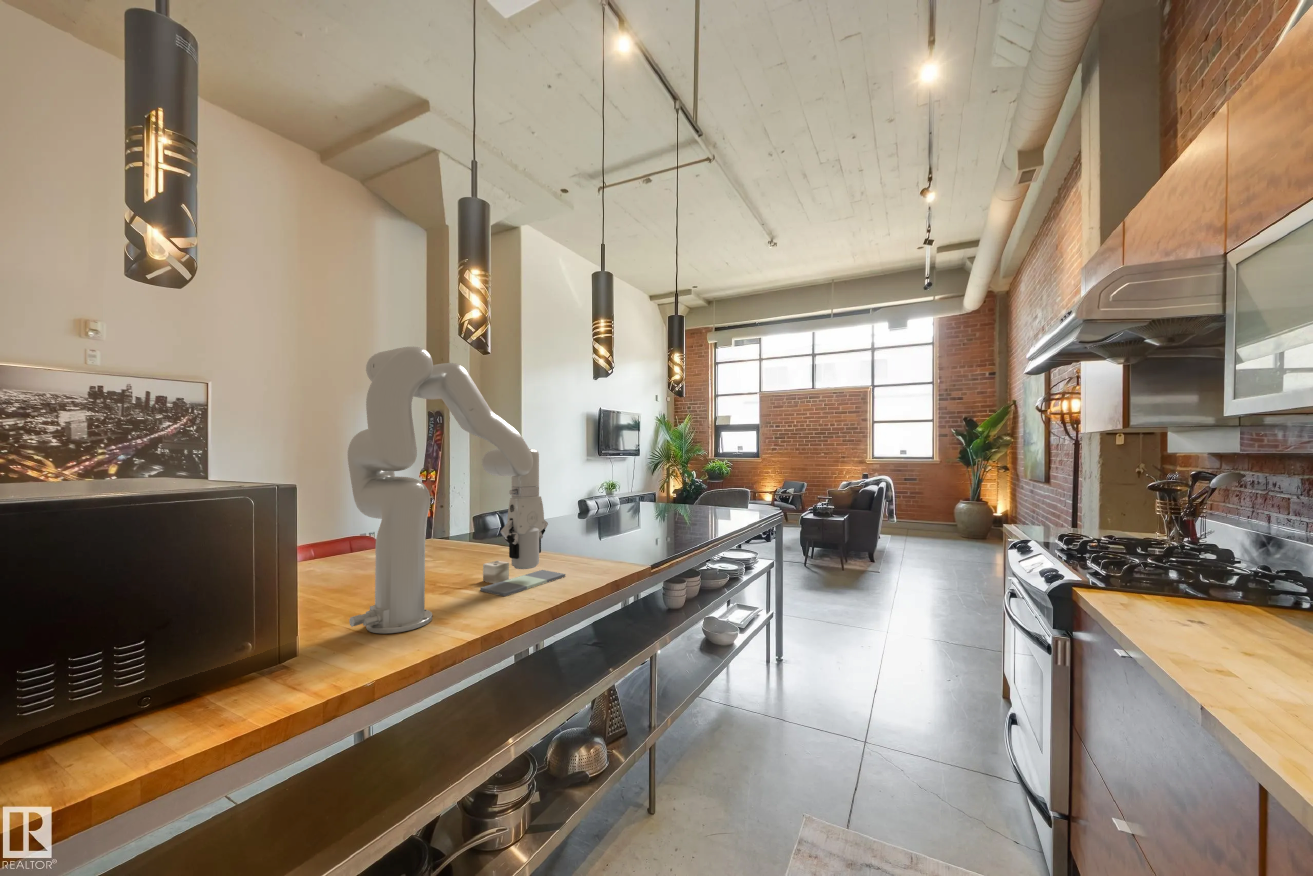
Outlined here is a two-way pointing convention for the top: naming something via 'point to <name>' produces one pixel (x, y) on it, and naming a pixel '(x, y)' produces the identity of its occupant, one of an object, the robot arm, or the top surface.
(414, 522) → the robot arm
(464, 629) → the top surface
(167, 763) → the top surface
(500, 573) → the die
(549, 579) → the board
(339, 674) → the top surface
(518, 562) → the can
